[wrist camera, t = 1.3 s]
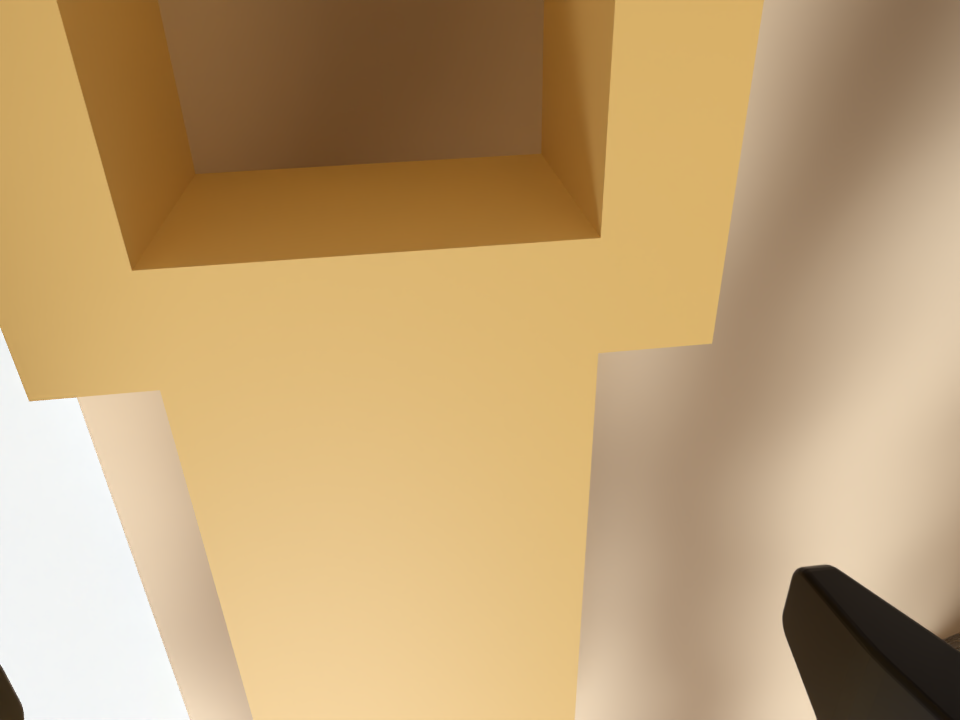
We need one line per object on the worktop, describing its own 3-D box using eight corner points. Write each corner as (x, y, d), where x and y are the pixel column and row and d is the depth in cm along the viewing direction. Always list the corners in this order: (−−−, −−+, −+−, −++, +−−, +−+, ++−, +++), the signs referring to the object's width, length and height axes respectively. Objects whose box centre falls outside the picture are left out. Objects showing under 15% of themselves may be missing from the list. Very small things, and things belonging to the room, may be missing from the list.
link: (588, 749, 17) (628, 899, 14) (266, 793, 16) (247, 958, 14) (686, -458, 7) (864, -663, 5) (-104, -474, 7) (-411, -724, 4)
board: (1925, -811, 8) (2118, -900, 7) (1047, 717, 21) (1076, 753, 20) (-338, -981, 6) (-463, -1137, 5) (250, 828, 19) (244, 872, 18)
